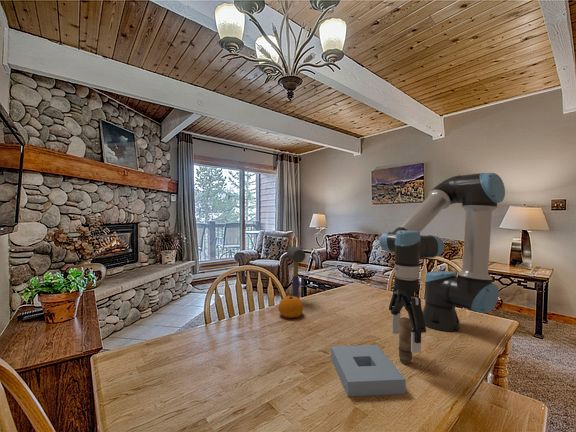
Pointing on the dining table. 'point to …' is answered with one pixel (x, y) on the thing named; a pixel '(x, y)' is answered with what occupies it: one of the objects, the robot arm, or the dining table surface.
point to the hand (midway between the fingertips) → (405, 342)
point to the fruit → (290, 307)
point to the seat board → (366, 371)
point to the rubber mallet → (295, 267)
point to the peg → (405, 340)
